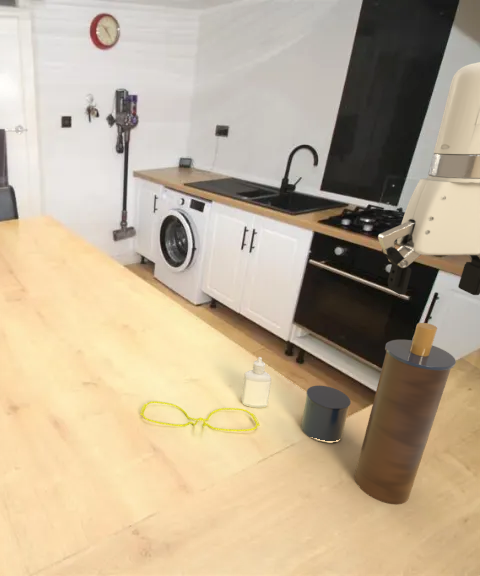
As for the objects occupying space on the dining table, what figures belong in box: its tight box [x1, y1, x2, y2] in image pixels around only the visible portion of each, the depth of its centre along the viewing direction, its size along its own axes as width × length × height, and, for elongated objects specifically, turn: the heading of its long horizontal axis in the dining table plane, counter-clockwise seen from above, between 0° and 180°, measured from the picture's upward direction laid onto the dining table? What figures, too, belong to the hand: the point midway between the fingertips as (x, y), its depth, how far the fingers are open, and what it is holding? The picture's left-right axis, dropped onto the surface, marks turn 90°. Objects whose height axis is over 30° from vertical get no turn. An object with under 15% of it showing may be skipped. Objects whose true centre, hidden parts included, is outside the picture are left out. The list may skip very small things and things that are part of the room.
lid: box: [384, 322, 457, 370], centre depth 62 cm, size 9×9×5 cm
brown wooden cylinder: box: [354, 351, 451, 505], centre depth 67 cm, size 8×8×26 cm
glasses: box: [139, 400, 260, 432], centre depth 88 cm, size 25×10×5 cm, turn 80°
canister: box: [300, 385, 351, 441], centre depth 84 cm, size 8×8×8 cm
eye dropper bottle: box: [240, 356, 272, 409], centre depth 92 cm, size 4×6×12 cm
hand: (431, 291), depth 59 cm, fingers open, 9 cm apart
